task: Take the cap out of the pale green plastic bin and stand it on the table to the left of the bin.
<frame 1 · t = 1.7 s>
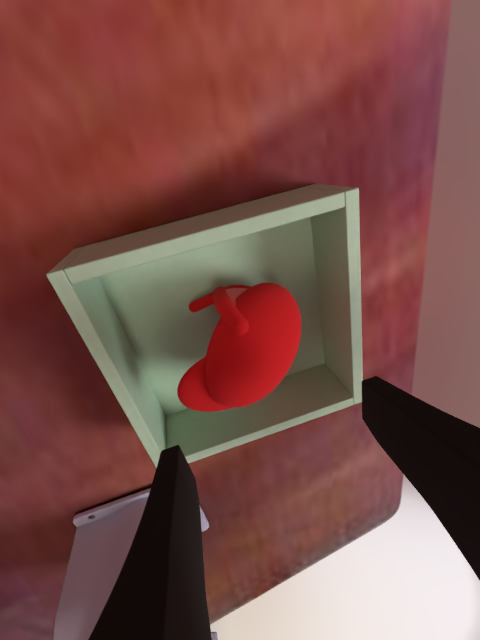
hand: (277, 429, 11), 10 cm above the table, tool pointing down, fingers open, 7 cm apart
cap: (228, 319, 20), resting in bin
bin: (227, 318, 20), on the table
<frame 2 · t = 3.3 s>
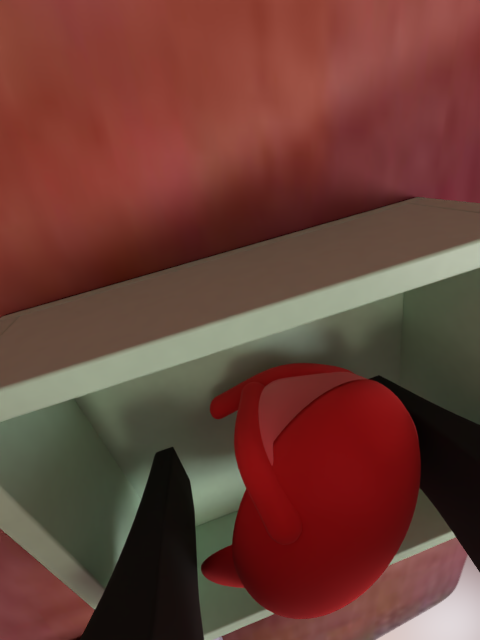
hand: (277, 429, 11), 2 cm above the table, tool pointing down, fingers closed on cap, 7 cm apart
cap: (282, 399, 12), point 1 cm above the table, touching bin, gripper
bin: (262, 402, 13), on the table
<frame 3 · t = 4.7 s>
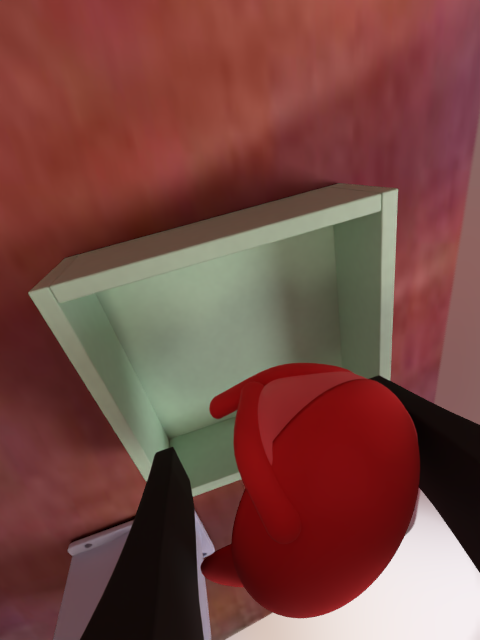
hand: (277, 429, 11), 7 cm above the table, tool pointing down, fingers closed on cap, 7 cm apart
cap: (282, 399, 12), point 6 cm above the table, touching gripper
bin: (238, 332, 18), on the table
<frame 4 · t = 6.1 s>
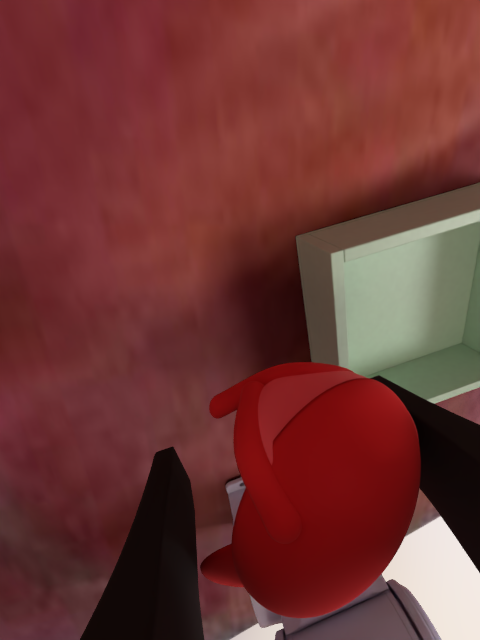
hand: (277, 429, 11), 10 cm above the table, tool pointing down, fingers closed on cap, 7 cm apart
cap: (282, 398, 12), point 9 cm above the table, touching gripper
bin: (394, 299, 22), on the table
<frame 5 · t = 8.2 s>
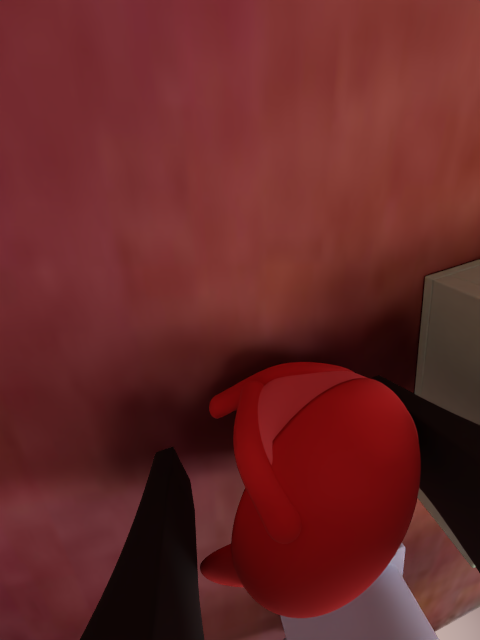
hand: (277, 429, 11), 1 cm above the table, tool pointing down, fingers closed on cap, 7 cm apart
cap: (282, 398, 12), on the table, touching gripper
when the fingers open (5 cm above the table, at t = 9.6 s): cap drops 4 cm, on the table.
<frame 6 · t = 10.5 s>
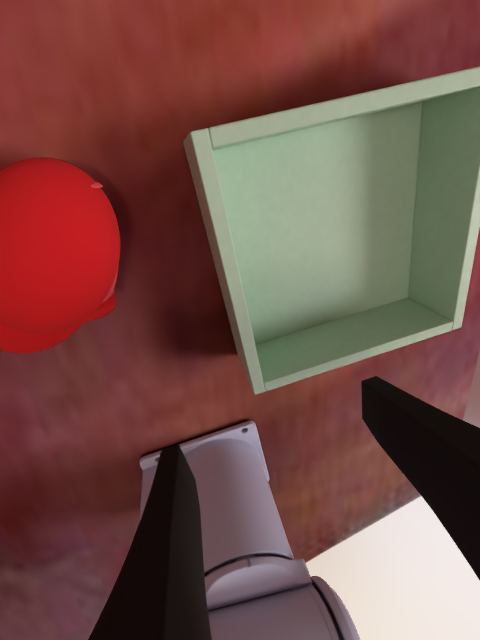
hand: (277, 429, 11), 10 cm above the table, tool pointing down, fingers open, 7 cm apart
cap: (66, 242, 16), on the table
bin: (321, 237, 19), on the table
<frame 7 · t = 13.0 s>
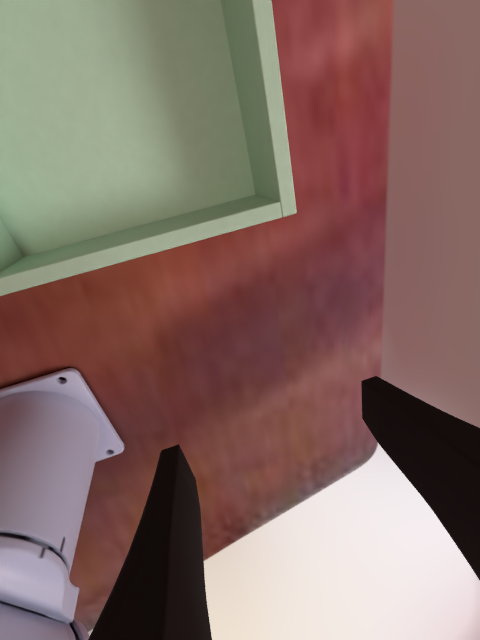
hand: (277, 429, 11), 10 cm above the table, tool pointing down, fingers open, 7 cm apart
bin: (94, 87, 13), on the table
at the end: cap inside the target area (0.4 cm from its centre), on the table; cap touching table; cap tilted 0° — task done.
